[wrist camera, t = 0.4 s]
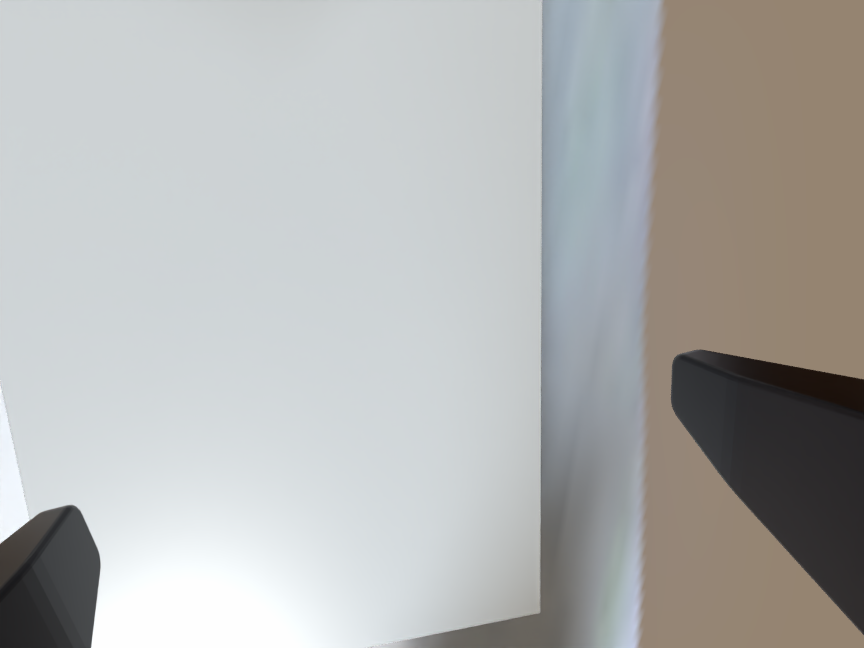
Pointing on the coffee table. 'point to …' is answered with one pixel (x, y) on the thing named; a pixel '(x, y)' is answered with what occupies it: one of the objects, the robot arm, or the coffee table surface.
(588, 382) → the coffee table surface
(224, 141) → the caster cart
